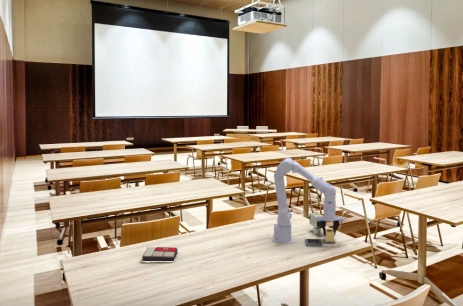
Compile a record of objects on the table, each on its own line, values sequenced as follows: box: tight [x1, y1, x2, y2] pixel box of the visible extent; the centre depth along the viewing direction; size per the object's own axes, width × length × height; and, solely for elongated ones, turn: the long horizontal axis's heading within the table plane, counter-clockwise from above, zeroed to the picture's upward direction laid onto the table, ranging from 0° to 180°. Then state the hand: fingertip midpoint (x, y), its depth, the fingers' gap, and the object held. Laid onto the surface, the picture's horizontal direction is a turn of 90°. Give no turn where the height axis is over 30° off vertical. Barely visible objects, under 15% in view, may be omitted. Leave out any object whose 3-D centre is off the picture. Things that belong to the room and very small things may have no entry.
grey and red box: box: [141, 246, 179, 262], centre depth 180 cm, size 11×4×15 cm
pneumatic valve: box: [308, 211, 327, 236], centre depth 205 cm, size 6×12×12 cm, turn 15°
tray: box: [304, 238, 339, 248], centre depth 191 cm, size 16×7×2 cm, turn 86°
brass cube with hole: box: [323, 228, 335, 241], centre depth 190 cm, size 4×4×5 cm
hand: (329, 234), depth 190 cm, fingers closed on brass cube with hole, 4 cm apart
